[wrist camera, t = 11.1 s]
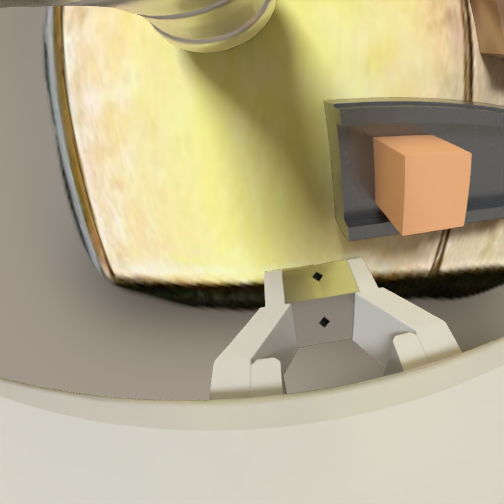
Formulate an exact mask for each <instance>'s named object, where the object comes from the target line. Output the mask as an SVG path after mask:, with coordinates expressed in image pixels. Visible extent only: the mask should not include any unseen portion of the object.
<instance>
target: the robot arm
mask: <svg viewBox="0 0 504 504" xmlns="http://www.w3.org/2000/svg"><path fill="white" fill-rule="evenodd" d="M264 281H265V307H263V308H260V309H259V310H258V311H257V313H256V314H255V315H254V316H253V317H252V318H251V320H250V321H249V322H248V323H247V324H246V326H245V327H244V328H243V329H242V330H241V331H240V333H239V334H238V335H237V336H236V338H235V339H234V340H233V341H232V342H231V343H230V344H229V345H228V347H227V348H226V349H225V350H224V351H223V352H222V353H221V355H220V356H219V357H218V358H217V359H216V360H215V362H214V366H213V374H212V382H211V390H210V399H209V400H150V399H133V398H119V397H108V396H99V395H90V394H82V393H75V392H68V391H62V390H56V389H50V388H45V387H40V386H35V385H30V384H25V383H21V382H17V381H13V380H9V379H5V378H2V377H0V504H504V336H503V337H500V338H498V339H496V340H494V341H491V342H488V343H486V344H484V345H481V346H479V347H476V348H473V349H471V350H468V351H465V352H463V353H462V352H461V350H460V348H459V346H458V344H457V342H456V340H455V339H454V337H453V335H452V333H451V331H450V330H449V328H448V326H447V324H446V323H445V321H443V320H441V319H439V318H437V317H436V316H434V315H432V314H430V313H429V312H427V311H425V310H423V309H421V308H420V307H418V306H416V305H414V304H412V303H411V302H409V301H407V300H405V299H403V298H401V297H400V296H398V295H396V294H394V293H392V292H390V291H388V290H387V289H385V288H378V286H377V284H376V282H375V280H374V278H373V276H372V275H371V273H370V271H369V269H368V267H367V265H366V263H365V261H364V259H363V257H361V256H359V257H354V258H349V259H345V260H340V261H335V262H329V263H323V264H317V265H308V266H301V267H293V268H286V269H282V270H281V269H278V270H272V271H265V274H264ZM347 339H353V341H354V342H356V343H357V344H358V345H359V346H360V347H361V348H362V349H363V350H364V351H366V352H367V353H368V354H369V355H370V356H371V357H372V358H373V359H375V360H376V361H377V362H378V363H379V364H380V365H381V366H382V367H384V368H385V373H384V377H379V378H375V379H371V380H366V381H362V382H357V383H352V384H347V385H342V386H337V387H331V388H326V389H319V390H313V391H306V392H299V393H291V394H287V392H286V387H285V382H284V377H283V375H284V373H285V372H286V370H287V368H288V366H289V364H290V362H291V361H292V358H293V357H294V355H295V353H296V351H297V348H300V347H305V346H311V345H316V344H322V343H328V342H334V341H341V340H347Z"/></svg>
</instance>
